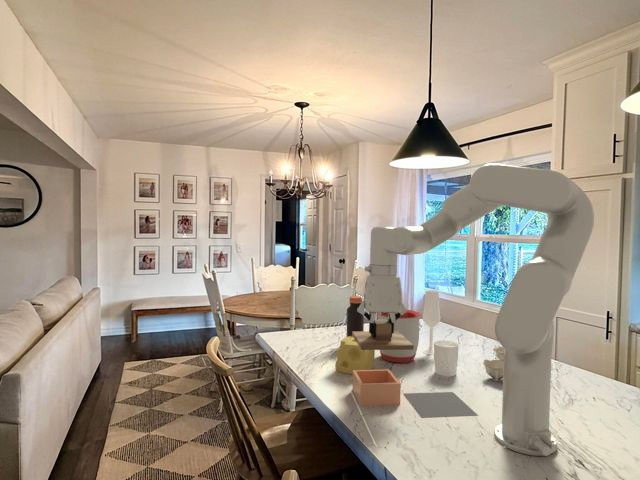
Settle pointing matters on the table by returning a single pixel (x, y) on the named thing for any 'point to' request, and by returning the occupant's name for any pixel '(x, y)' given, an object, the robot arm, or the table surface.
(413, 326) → the citrus juicer
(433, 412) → the mat
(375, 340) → the lid
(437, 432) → the table surface
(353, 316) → the bottle
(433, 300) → the champagne flute
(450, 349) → the white cup
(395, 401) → the salmon orange open box
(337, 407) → the table surface
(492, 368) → the chinaware
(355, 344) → the cheese
